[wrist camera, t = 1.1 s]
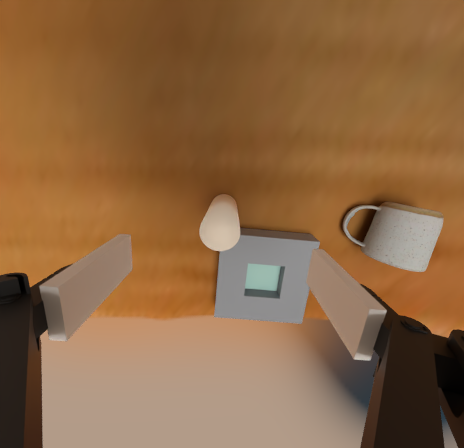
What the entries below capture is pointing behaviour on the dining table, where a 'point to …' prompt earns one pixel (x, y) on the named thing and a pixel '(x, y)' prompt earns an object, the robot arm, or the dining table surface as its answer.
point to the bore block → (265, 276)
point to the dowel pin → (221, 224)
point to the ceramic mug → (400, 235)
